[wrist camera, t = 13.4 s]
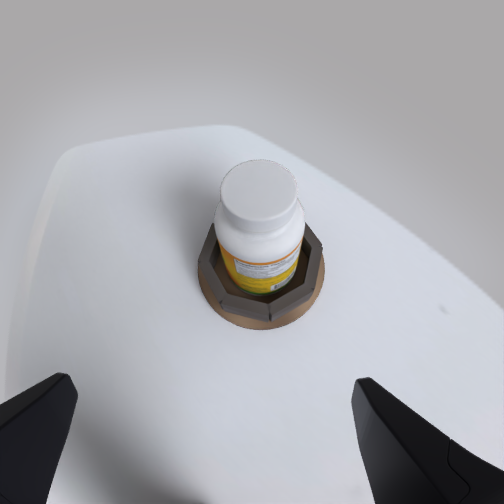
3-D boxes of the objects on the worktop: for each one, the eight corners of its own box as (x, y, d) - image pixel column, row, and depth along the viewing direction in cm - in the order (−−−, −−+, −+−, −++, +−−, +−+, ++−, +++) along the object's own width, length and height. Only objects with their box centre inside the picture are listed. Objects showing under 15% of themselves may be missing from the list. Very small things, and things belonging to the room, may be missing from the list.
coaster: (236, 353, 21) (232, 348, 19) (180, 249, 25) (172, 233, 23) (347, 287, 23) (355, 275, 21) (280, 198, 27) (282, 180, 25)
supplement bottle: (233, 231, 25) (218, 146, 17) (298, 238, 25) (313, 155, 16) (221, 292, 23) (194, 226, 14) (292, 302, 22) (309, 239, 14)
